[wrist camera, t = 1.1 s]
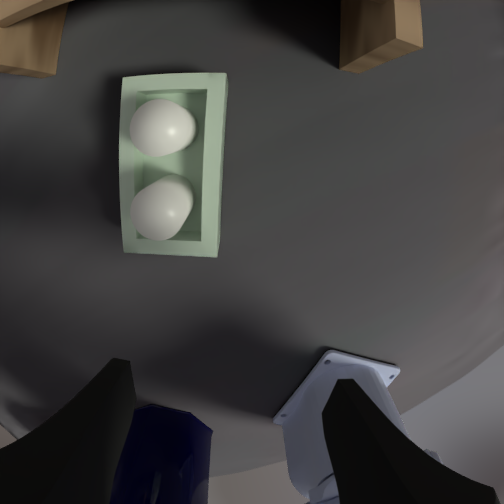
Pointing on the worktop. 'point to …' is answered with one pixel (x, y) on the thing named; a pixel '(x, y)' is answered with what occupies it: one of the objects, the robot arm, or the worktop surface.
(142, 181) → the tray
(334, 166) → the worktop surface
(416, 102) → the worktop surface
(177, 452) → the bottle
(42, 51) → the wooden arch bridge
